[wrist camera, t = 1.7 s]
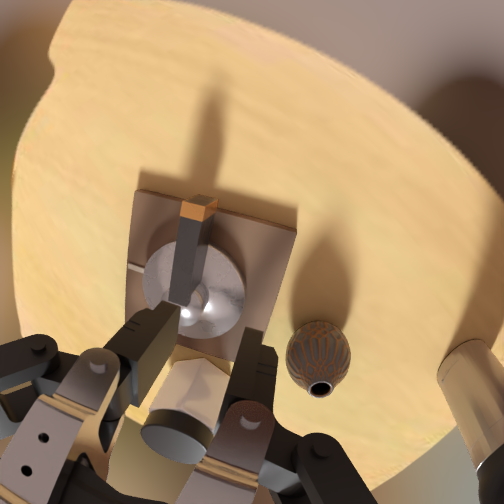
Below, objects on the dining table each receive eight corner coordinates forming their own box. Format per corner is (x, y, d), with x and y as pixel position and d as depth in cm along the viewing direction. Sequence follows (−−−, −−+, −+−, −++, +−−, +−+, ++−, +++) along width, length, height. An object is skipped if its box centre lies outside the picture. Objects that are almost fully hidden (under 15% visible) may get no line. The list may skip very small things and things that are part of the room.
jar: (161, 373, 37) (126, 433, 26) (191, 345, 35) (155, 413, 23) (210, 408, 38) (187, 471, 27) (244, 385, 36) (227, 456, 24)
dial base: (296, 229, 28) (296, 233, 27) (255, 359, 34) (253, 368, 32) (141, 189, 29) (133, 191, 28) (130, 318, 35) (124, 324, 33)
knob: (234, 343, 32) (223, 374, 26) (145, 313, 32) (123, 338, 27) (270, 209, 26) (264, 222, 21) (161, 182, 27) (132, 189, 22)
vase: (282, 316, 32) (277, 366, 23) (344, 307, 30) (358, 356, 22) (291, 362, 33) (288, 415, 25) (346, 355, 32) (356, 407, 24)
